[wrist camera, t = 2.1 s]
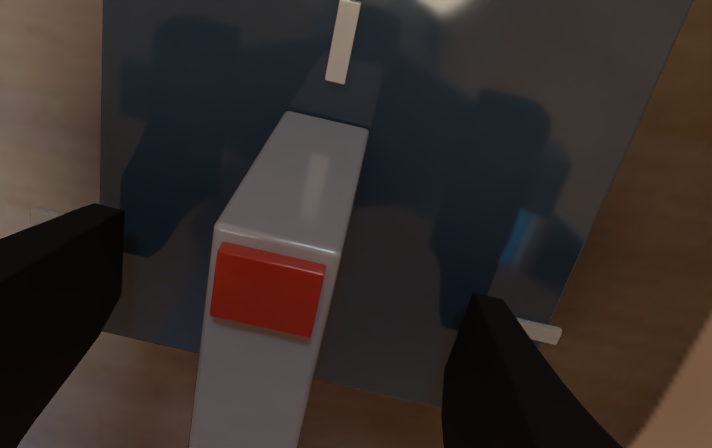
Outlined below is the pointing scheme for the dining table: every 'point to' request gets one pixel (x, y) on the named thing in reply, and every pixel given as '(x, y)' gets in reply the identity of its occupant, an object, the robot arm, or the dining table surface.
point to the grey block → (274, 284)
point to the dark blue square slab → (377, 155)
